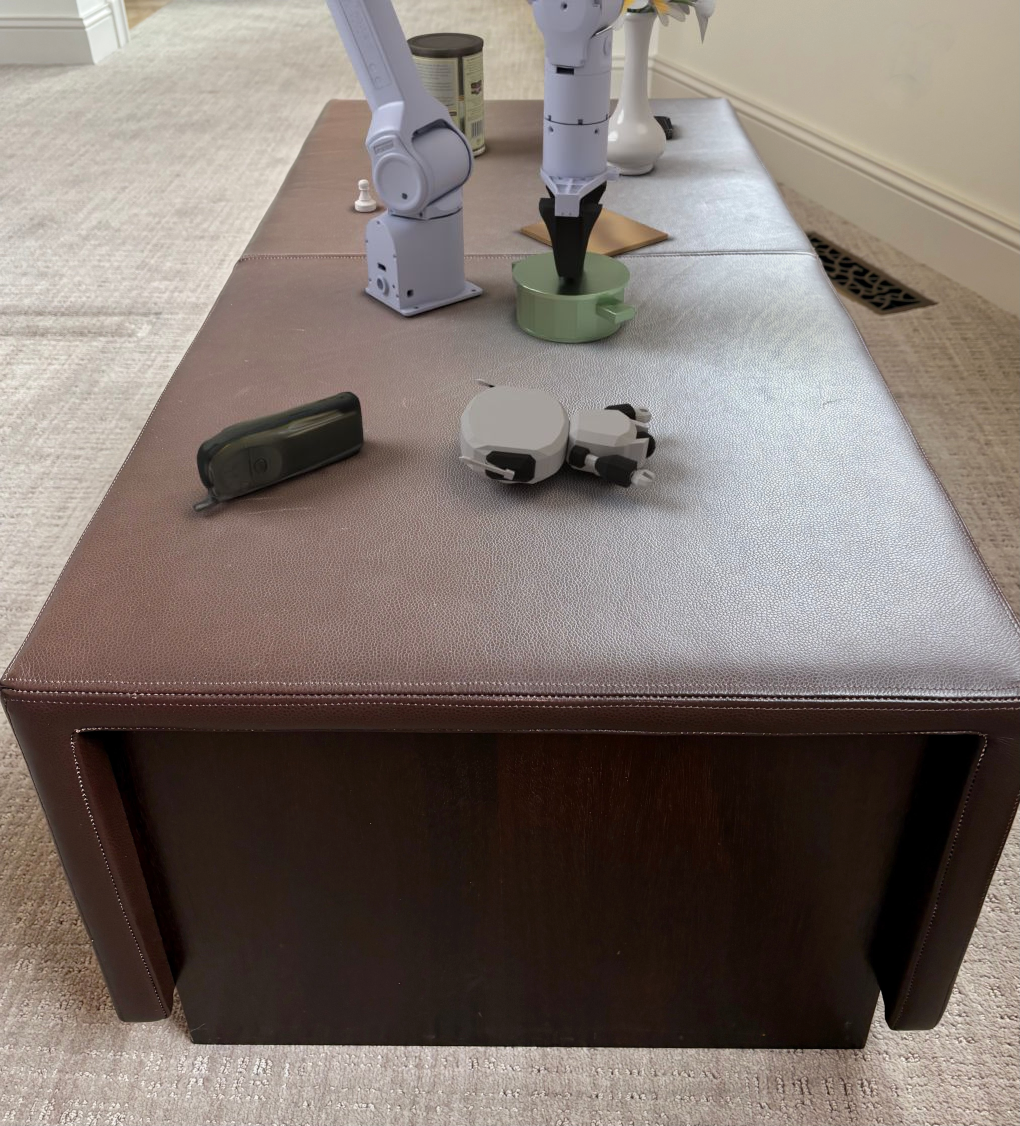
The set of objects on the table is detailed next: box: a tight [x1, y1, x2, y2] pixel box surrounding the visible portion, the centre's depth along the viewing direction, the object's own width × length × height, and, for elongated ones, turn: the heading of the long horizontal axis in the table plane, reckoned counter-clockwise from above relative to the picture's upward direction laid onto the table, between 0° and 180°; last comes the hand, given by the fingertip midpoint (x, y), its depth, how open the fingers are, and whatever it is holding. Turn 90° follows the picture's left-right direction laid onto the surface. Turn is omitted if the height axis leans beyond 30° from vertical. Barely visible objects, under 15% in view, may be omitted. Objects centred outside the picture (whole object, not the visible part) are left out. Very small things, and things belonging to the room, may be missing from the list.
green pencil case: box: [192, 391, 365, 513], centre depth 80 cm, size 5×3×15 cm
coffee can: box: [406, 32, 486, 157], centre depth 146 cm, size 10×10×14 cm
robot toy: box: [457, 378, 657, 490], centre depth 82 cm, size 12×4×15 cm
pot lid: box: [511, 251, 631, 301], centre depth 101 cm, size 11×11×5 cm
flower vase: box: [607, 0, 717, 176], centre depth 135 cm, size 13×18×25 cm
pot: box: [511, 259, 636, 344], centre depth 103 cm, size 10×16×4 cm, turn 37°
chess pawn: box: [354, 179, 377, 213], centre depth 129 cm, size 3×3×4 cm
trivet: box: [520, 207, 669, 257], centre depth 123 cm, size 12×12×1 cm
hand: (571, 266), depth 101 cm, fingers open, 4 cm apart
